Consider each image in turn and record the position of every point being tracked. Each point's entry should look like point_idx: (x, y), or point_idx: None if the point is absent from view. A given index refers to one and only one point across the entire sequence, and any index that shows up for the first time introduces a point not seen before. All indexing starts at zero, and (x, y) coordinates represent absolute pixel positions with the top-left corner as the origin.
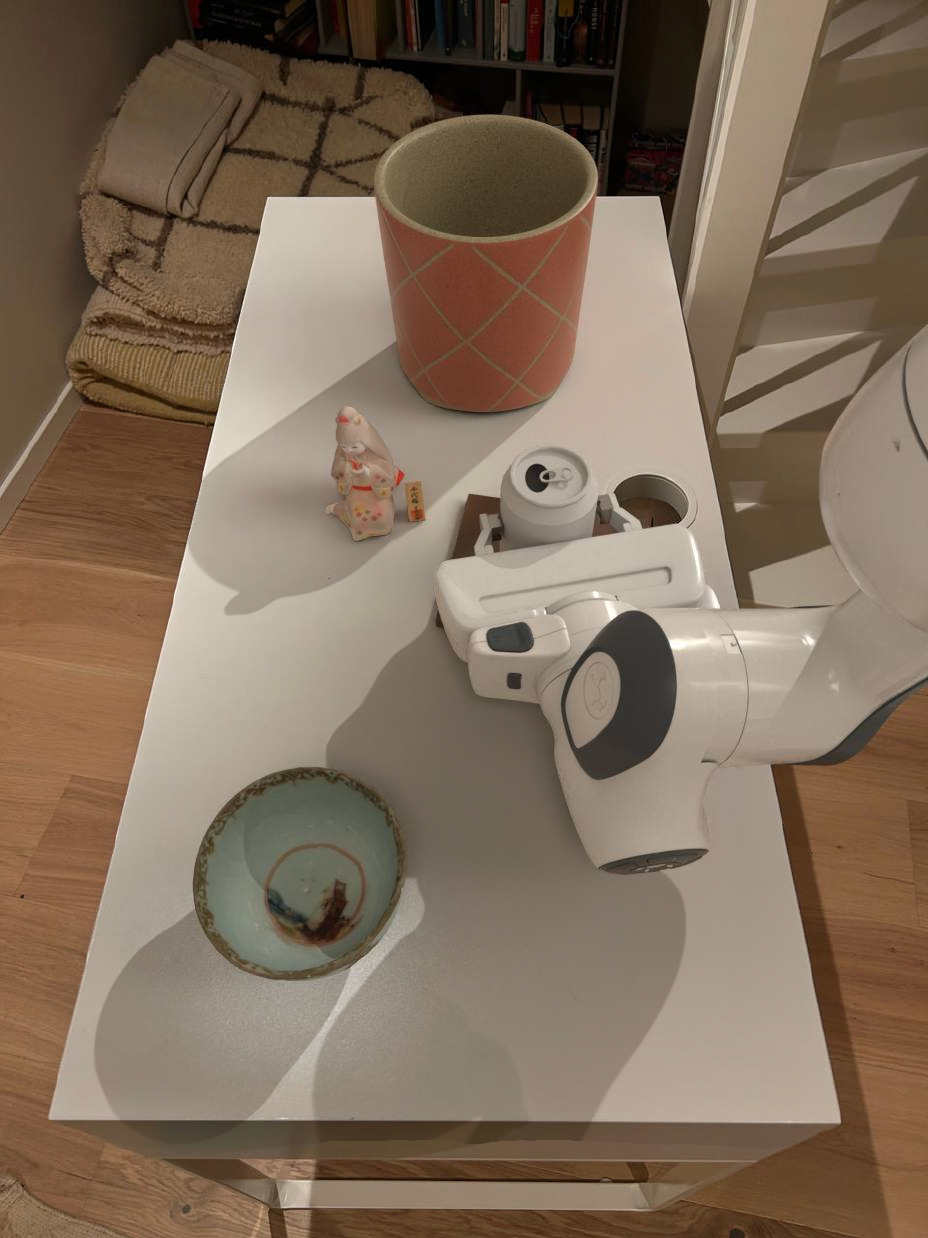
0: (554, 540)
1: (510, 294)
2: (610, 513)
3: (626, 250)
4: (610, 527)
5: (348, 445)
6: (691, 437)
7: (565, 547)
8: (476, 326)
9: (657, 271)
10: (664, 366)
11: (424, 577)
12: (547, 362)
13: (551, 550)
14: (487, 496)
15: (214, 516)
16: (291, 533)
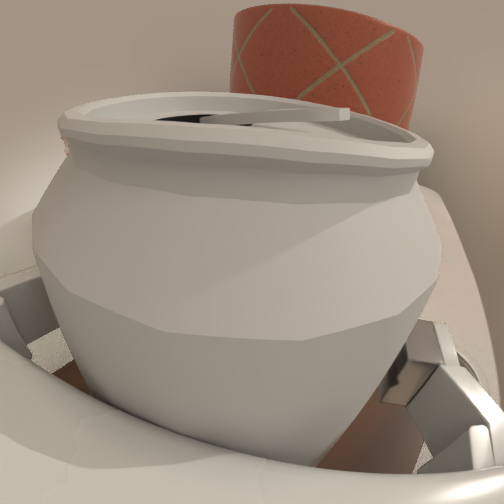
0: (131, 402)
1: (325, 69)
2: (426, 379)
3: (424, 198)
4: (380, 404)
5: (65, 142)
6: (482, 319)
7: (146, 470)
8: None
9: (444, 212)
10: (454, 257)
11: (64, 347)
12: None
13: (71, 437)
14: None
15: (17, 220)
16: (31, 247)
